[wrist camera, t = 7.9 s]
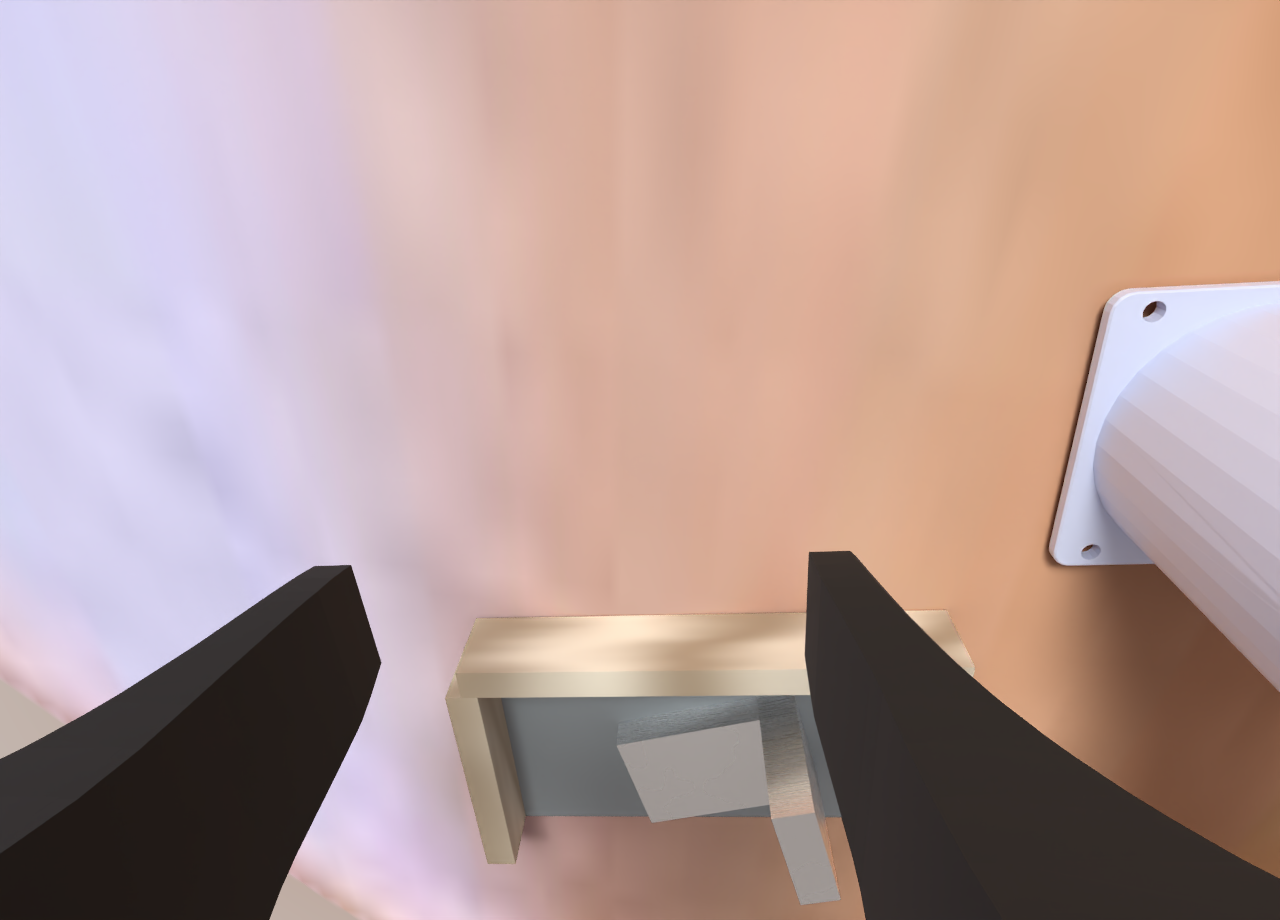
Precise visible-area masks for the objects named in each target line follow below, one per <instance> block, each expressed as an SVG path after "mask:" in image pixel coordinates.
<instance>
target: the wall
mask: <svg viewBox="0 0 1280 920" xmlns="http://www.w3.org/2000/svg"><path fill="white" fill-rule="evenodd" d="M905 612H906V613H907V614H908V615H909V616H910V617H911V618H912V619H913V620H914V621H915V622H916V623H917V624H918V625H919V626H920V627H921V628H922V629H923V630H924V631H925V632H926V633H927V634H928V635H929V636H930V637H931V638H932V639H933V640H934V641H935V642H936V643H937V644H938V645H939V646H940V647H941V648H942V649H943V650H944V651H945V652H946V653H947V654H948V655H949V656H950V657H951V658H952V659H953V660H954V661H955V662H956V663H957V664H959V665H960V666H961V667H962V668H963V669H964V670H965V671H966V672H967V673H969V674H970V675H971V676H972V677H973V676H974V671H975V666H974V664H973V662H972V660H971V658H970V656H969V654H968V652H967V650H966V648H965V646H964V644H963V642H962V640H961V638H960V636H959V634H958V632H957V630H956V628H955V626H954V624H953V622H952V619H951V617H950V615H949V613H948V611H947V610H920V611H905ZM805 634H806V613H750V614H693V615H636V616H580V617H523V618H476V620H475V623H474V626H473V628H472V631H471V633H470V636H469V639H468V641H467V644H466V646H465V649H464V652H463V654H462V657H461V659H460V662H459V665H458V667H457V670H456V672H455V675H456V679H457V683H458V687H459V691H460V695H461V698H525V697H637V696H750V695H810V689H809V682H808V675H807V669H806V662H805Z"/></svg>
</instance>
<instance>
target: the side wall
mask: <svg viewBox="0 0 1280 920" xmlns="http://www.w3.org/2000/svg"><path fill="white" fill-rule="evenodd" d="M466 644H467V643H466ZM465 646H466V645H465ZM464 649H465V648H464ZM463 652H464V651H463ZM462 654H463V653H462ZM461 657H462V656H461ZM460 659H461V658H460ZM459 662H460V661H459ZM458 665H459V664H458ZM457 667H458V666H457ZM456 670H457V669H456ZM455 672H456V671H455ZM445 700H446V704H447V707H448V711H449V715H450V719H451V723H452V727H453V731H454V735H455V738H456V742H457V746H458V750H459V754H460V758H461V762H462V766H463V769H464V773H465V777H466V781H467V785H468V789H469V793H470V797H471V800H472V804H473V808H474V812H475V816H476V820H477V824H478V828H479V831H480V835H481V839H482V843H483V847H484V851H485V855H486V859H487V862H488V864H516V859H517V855H518V850H519V845H520V841H521V836H522V831H523V827H524V822H525V818H526V814H525V810H524V805H523V800H522V795H521V791H520V786H519V781H518V776H517V771H516V767H515V762H514V757H513V752H512V748H511V743H510V738H509V733H508V729H507V724H506V719H505V714H504V710H503V705H502V700H501V698H461V695H460V691H459V687H458V683H457V679H456V675H455V674H454V676H453V679H452V682H451V684H450V687H449V689H448V692H447V695H446V697H445Z"/></svg>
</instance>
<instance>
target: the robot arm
mask: <svg viewBox="0 0 1280 920" xmlns="http://www.w3.org/2000/svg"><path fill="white" fill-rule="evenodd" d="M1154 301H1157V307H1156V309H1155V311H1154V312H1153V313H1152V314H1151V315H1149V316H1147V317H1144V318H1143V311H1144V309H1145V307H1146V306H1147V305H1148V304H1150V303H1151V302H1154ZM1092 544H1094V545H1093V546H1092V548H1091V549H1089V550H1088V551H1084V552H1082V550H1083V548H1085V547H1086V546H1088V545H1092ZM1049 552H1050V553H1051V555H1052V557H1053V558H1054V559H1055V560H1056V562H1058V563H1059V564H1061V565H1066V566H1081V565H1127V564H1156V566H1157V567H1158V568H1159V569H1160V570H1161V571H1162V572H1163V573H1164V574H1165V575H1166V576H1167V577H1168V578H1169V579H1170V580H1171V581H1172V582H1173V583H1174V584H1175V585H1176V586H1177V587H1178V588H1179V589H1180V590H1181V591H1182V592H1183V593H1184V594H1185V595H1186V596H1187V597H1188V598H1189V599H1190V601H1191V602H1192V603H1193V604H1194V605H1195V606H1196V607H1197V608H1198V609H1199V610H1200V611H1201V612H1202V613H1203V614H1204V615H1205V616H1206V617H1207V618H1208V619H1209V620H1210V621H1211V622H1212V623H1213V624H1214V625H1215V626H1216V627H1217V628H1218V629H1219V630H1220V631H1221V632H1222V633H1223V635H1224V636H1225V637H1226V638H1227V639H1228V640H1229V641H1230V642H1231V643H1232V644H1233V645H1234V646H1235V647H1236V648H1237V649H1238V650H1239V651H1240V652H1241V653H1242V654H1243V655H1244V656H1245V657H1246V658H1247V659H1248V660H1249V661H1250V662H1251V663H1252V664H1253V665H1254V666H1255V667H1256V668H1257V670H1258V671H1259V672H1260V673H1261V674H1262V675H1263V676H1264V677H1265V678H1266V679H1267V680H1268V681H1269V682H1270V683H1271V684H1272V685H1273V686H1274V687H1275V688H1276V689H1277V690H1278V691H1279V692H1280V281H1269V282H1249V283H1229V284H1209V285H1189V286H1169V287H1149V288H1130V289H1125V290H1121V291H1119V292H1118V293H1116V294H1114V295H1113V296H1112V297H1111V298H1110V299H1109V300H1108V301H1107V303H1106V306H1105V308H1104V310H1103V315H1102V319H1101V323H1100V328H1099V332H1098V336H1097V341H1096V345H1095V349H1094V354H1093V358H1092V362H1091V367H1090V371H1089V375H1088V380H1087V384H1086V388H1085V393H1084V397H1083V401H1082V406H1081V410H1080V414H1079V419H1078V423H1077V427H1076V432H1075V436H1074V440H1073V445H1072V449H1071V453H1070V458H1069V462H1068V466H1067V471H1066V475H1065V479H1064V484H1063V488H1062V492H1061V497H1060V501H1059V505H1058V510H1057V514H1056V518H1055V523H1054V527H1053V531H1052V536H1051V540H1050V544H1049ZM805 662H806V669H807V675H808V682H809V689H810V695H811V701H812V708H813V714H814V719H815V722H816V726H817V730H818V734H819V737H820V741H821V745H822V748H823V752H824V756H825V759H826V763H827V767H828V770H829V774H830V777H831V781H832V785H833V788H834V792H835V795H836V799H837V803H838V806H839V810H840V813H841V817H842V821H843V824H844V828H845V831H846V835H847V839H848V842H849V846H850V849H851V853H852V857H853V861H854V865H855V869H856V873H857V878H858V882H859V886H860V891H861V896H862V901H863V907H864V912H865V918H866V920H1280V879H1279V878H1277V877H1275V876H1273V875H1271V874H1269V873H1267V872H1265V871H1264V870H1262V869H1260V868H1258V867H1256V866H1254V865H1252V864H1250V863H1248V862H1246V861H1244V860H1242V859H1241V858H1239V857H1237V856H1235V855H1233V854H1232V853H1230V852H1228V851H1226V850H1224V849H1223V848H1221V847H1219V846H1218V845H1216V844H1214V843H1212V842H1211V841H1209V840H1207V839H1205V838H1204V837H1202V836H1200V835H1198V834H1197V833H1195V832H1193V831H1192V830H1190V829H1188V828H1186V827H1185V826H1183V825H1181V824H1179V823H1178V822H1176V821H1174V820H1172V819H1171V818H1169V817H1167V816H1166V815H1164V814H1162V813H1161V812H1159V811H1158V810H1156V809H1154V808H1153V807H1151V806H1149V805H1148V804H1146V803H1145V802H1143V801H1141V800H1140V799H1138V798H1136V797H1135V796H1133V795H1132V794H1130V793H1128V792H1127V791H1125V790H1124V789H1122V788H1121V787H1119V786H1118V785H1116V784H1115V783H1113V782H1112V781H1110V780H1109V779H1107V778H1106V777H1104V776H1103V775H1101V774H1100V773H1098V772H1097V771H1095V770H1094V769H1092V768H1091V767H1089V766H1088V765H1086V764H1085V763H1083V762H1082V761H1080V760H1079V759H1077V758H1076V757H1074V756H1073V755H1071V754H1070V753H1069V752H1067V751H1066V750H1064V749H1063V748H1062V747H1060V746H1059V745H1057V744H1056V743H1055V742H1053V741H1052V740H1050V739H1049V738H1048V737H1046V736H1045V735H1044V734H1042V733H1041V732H1040V731H1038V730H1037V729H1036V728H1034V727H1033V726H1032V725H1031V724H1029V723H1028V722H1027V721H1025V720H1024V719H1023V718H1022V717H1020V716H1019V715H1018V714H1016V713H1015V712H1014V711H1012V710H1011V709H1010V708H1009V707H1007V706H1006V705H1005V704H1003V703H1002V702H1001V701H1000V700H999V699H997V698H996V697H995V696H994V695H992V694H991V693H990V692H989V691H988V690H987V689H985V688H984V687H983V686H982V685H981V684H980V683H979V682H977V681H976V680H975V679H974V678H973V677H972V676H971V675H970V674H969V673H967V672H966V671H965V670H964V669H963V668H962V667H961V666H960V665H959V664H957V663H956V662H955V661H954V660H953V659H952V658H951V657H950V656H949V655H948V654H947V653H946V652H945V651H944V650H943V649H942V648H941V647H940V646H939V645H938V644H937V643H936V642H935V641H934V640H933V639H932V638H931V637H930V636H929V635H928V634H927V633H926V632H925V631H924V630H923V629H922V628H921V627H920V626H919V625H918V624H917V623H916V622H915V621H914V620H913V619H912V618H911V617H910V616H909V615H908V614H907V613H906V612H905V611H904V610H903V609H902V608H901V607H900V605H899V604H898V603H897V602H896V601H895V600H894V599H893V598H892V597H891V596H890V595H889V593H888V592H887V591H886V590H885V589H884V588H883V587H882V586H881V585H880V583H879V582H878V581H877V580H876V579H875V578H874V577H873V575H872V574H871V573H870V572H869V571H868V570H867V569H866V567H865V566H864V565H863V564H862V563H861V562H860V560H859V559H858V558H857V557H856V556H855V555H854V554H853V553H852V552H851V551H832V552H809V565H808V588H807V611H806V634H805ZM380 665H381V660H380V657H379V654H378V651H377V647H376V644H375V641H374V638H373V634H372V631H371V628H370V625H369V622H368V618H367V615H366V612H365V609H364V605H363V602H362V599H361V596H360V592H359V589H358V586H357V583H356V580H355V576H354V573H353V570H352V567H351V565H339V566H314V567H312V568H311V569H309V570H307V571H305V572H304V573H302V574H300V575H299V576H297V577H295V578H294V579H292V580H291V581H289V582H288V583H286V584H285V585H283V586H282V587H280V588H279V589H277V590H276V591H274V592H273V593H271V594H270V595H268V596H267V597H265V598H264V599H262V600H261V601H259V602H258V603H257V604H255V605H254V606H252V607H251V608H249V609H248V610H246V611H245V612H243V613H242V614H241V615H239V616H238V617H236V618H235V619H233V620H232V621H230V622H229V623H227V624H226V625H224V626H223V627H222V628H220V629H219V630H217V631H216V632H214V633H213V634H211V635H210V636H208V637H207V638H205V639H204V640H203V641H201V642H200V643H198V644H197V645H195V646H194V647H192V648H191V649H189V650H188V651H186V652H184V653H183V654H181V655H180V656H178V657H177V658H175V659H174V660H172V661H170V662H169V663H167V664H166V665H164V666H163V667H161V668H159V669H158V670H156V671H155V672H153V673H152V674H150V675H149V676H147V677H145V678H144V679H142V680H141V681H139V682H138V683H136V684H134V685H133V686H131V687H130V688H128V689H127V690H125V691H123V692H122V693H120V694H118V695H117V696H115V697H114V698H112V699H110V700H109V701H107V702H105V703H103V704H102V705H100V706H98V707H97V708H95V709H93V710H91V711H90V712H88V713H86V714H84V715H83V716H81V717H79V718H77V719H75V720H74V721H72V722H70V723H68V724H66V725H65V726H63V727H61V728H59V729H57V730H55V731H54V732H52V733H50V734H48V735H46V736H45V737H43V738H41V739H39V740H37V741H35V742H33V743H31V744H30V745H28V746H26V747H24V748H22V749H20V750H18V751H16V752H14V753H12V754H10V755H8V756H6V757H4V758H1V759H0V920H269V919H270V916H271V914H272V911H273V908H274V906H275V903H276V900H277V898H278V895H279V893H280V890H281V888H282V885H283V883H284V881H285V879H286V877H287V874H288V872H289V870H290V868H291V865H292V863H293V861H294V859H295V856H296V854H297V852H298V850H299V848H300V846H301V844H302V842H303V840H304V838H305V836H306V834H307V832H308V830H309V828H310V826H311V824H312V822H313V820H314V818H315V816H316V814H317V812H318V810H319V808H320V806H321V804H322V802H323V800H324V798H325V796H326V794H327V792H328V790H329V788H330V786H331V784H332V782H333V780H334V778H335V776H336V774H337V772H338V770H339V768H340V766H341V764H342V762H343V760H344V758H345V756H346V754H347V751H348V749H349V747H350V745H351V743H352V741H353V739H354V737H355V735H356V733H357V731H358V729H359V726H360V724H361V722H362V720H363V717H364V714H365V711H366V708H367V705H368V703H369V700H370V697H371V694H372V691H373V688H374V685H375V681H376V678H377V675H378V672H379V669H380Z"/></svg>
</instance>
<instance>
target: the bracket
mask: <svg viewBox="0 0 1280 920" xmlns="http://www.w3.org/2000/svg"><path fill="white" fill-rule="evenodd" d="M617 748H618V750H619V752H620V754H621V757H622V759H623V761H624V763H625V765H626V768H627V770H628V772H629V774H630V776H631V779H632V781H633V783H634V785H635V787H636V790H637V792H638V794H639V796H640V798H641V801H642V803H643V805H644V807H645V809H646V812H647V814H648V816H649V818H650V820H651V823H655V822H661V821H667V820H674V819H680V818H687V817H693V816H700V815H706V814H713V813H719V812H725V811H732V810H738V809H745V808H751V807H758V806H764V805H770V813H771V820H772V823H773V826H774V829H775V832H776V834H777V837H778V840H779V843H780V846H781V849H782V852H783V855H784V858H785V861H786V864H787V867H788V870H789V872H790V875H791V878H792V881H793V884H794V887H795V890H796V893H797V896H798V899H799V902H800V905H805V904H813V903H821V902H828V901H836V900H841V897H840V892H839V887H838V882H837V876H836V871H835V866H834V861H833V855H832V850H831V845H830V840H829V835H828V829H827V824H826V819H825V814H824V808H823V803H822V798H821V793H820V787H819V782H818V777H817V772H816V768H815V765H814V761H813V758H812V754H811V751H810V747H809V744H808V741H807V737H806V734H805V730H804V727H803V723H802V720H801V716H800V713H799V709H798V706H797V702H796V699H795V695H762V696H756V697H751V698H746V699H740V700H735V701H729V702H724V703H718V704H713V705H707V706H702V707H697V708H691V709H686V710H680V711H675V712H669V713H664V714H658V715H653V716H647V717H642V718H637V719H631V720H626V721H620V722H619V725H618V735H617Z"/></svg>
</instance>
